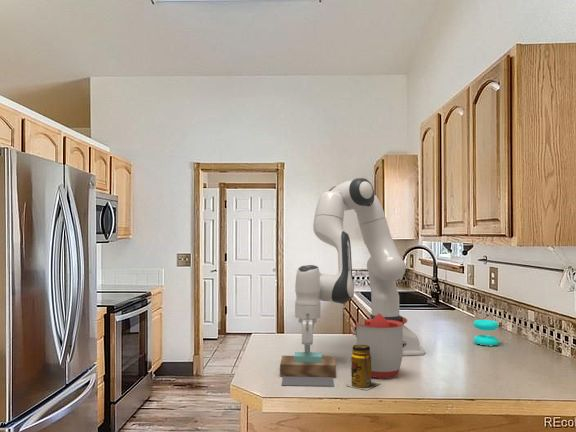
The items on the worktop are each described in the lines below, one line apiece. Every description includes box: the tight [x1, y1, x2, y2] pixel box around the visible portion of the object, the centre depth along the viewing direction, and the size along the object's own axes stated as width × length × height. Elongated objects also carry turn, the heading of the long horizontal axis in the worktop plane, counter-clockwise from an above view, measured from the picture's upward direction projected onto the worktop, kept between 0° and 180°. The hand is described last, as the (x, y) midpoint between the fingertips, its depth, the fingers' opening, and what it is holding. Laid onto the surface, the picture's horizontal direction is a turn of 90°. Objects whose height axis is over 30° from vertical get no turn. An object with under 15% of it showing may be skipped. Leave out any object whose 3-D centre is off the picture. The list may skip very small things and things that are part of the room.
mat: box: [281, 377, 335, 388], centre depth 153 cm, size 16×9×1 cm, turn 88°
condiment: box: [345, 344, 381, 391], centre depth 150 cm, size 7×8×12 cm
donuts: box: [472, 319, 499, 346], centre depth 210 cm, size 10×10×10 cm
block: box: [293, 351, 323, 363], centre depth 164 cm, size 9×6×2 cm, turn 87°
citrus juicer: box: [352, 313, 403, 380], centre depth 163 cm, size 16×17×20 cm
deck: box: [279, 355, 337, 379], centre depth 164 cm, size 18×12×4 cm, turn 88°
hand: (307, 352), depth 170 cm, fingers closed
